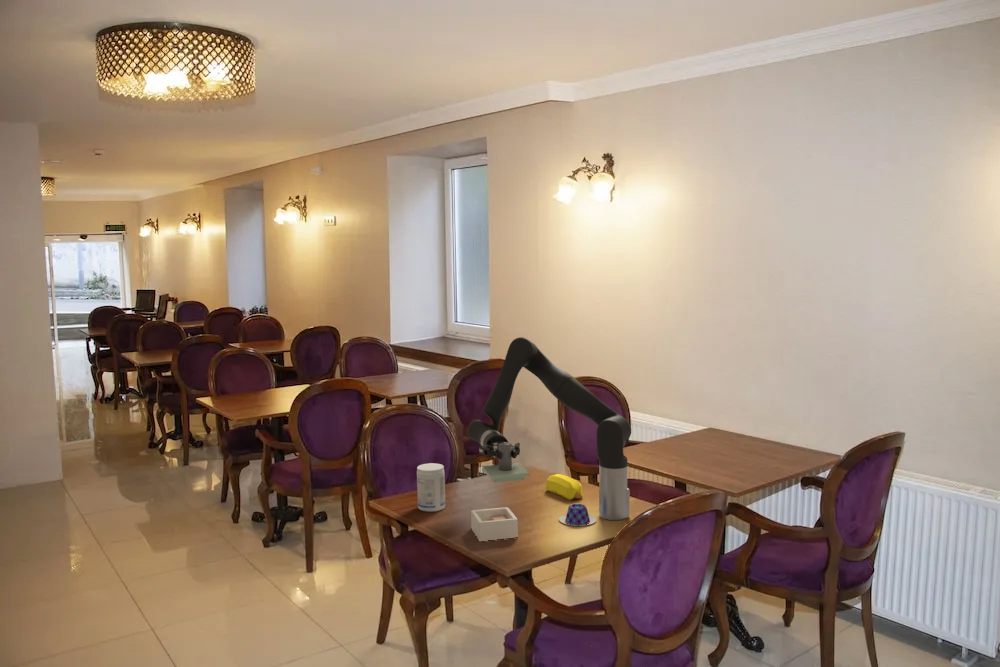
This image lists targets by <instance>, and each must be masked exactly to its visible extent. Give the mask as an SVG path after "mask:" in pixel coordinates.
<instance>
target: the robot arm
mask: <svg viewBox="0 0 1000 667" xmlns="http://www.w3.org/2000/svg"><path fill="white" fill-rule="evenodd" d="M501 367H502V368H501V370H500V373H499V375H498V378H497V379H496V382H495V385H494V387H493V388H492V391H491V393H490V395H489V396H488V399H487V401H486V402H485V405H484V406H483V409H482V412H483V414H484V415H485V416H487V417H488V418H489V419H490V424H489V423H487V422H485V421H483V420H481V419H473V420H472V421H471V422H470V423H469V424H468V426H467V433H466V434H467V435H468V437H469V439H471V440H472V441H474V442H476V443H477V444H479V448H478V449H479V450H478V451H479V452H478V454H479V455H481V456H484V457H487V458H492V457H493V458H496V459H498V461H499V460H500V459H502V458H501V452H500V451H499V445H498V444H499V443H504V442H507V443H509V441H508V439H507V438H506V436H504V435H503V434H501V433H500V432H499V430H500V425H501V421H502V418H503V415H504V413H505V411H506V409H507V407H508V405H509V403H510V401H511V398H512V395H513V391H514V386H515V384H516V383H515V382H516V380H517V377H518V376H519V373H520V372H521V370H522V369H523V368H524V369H525V370H527V371H528V372H530V373H531V374H533V375H534V376H535V377H536V378H538V380H540V382H541V383H542V384H543V385H544V387H545V388H546V389H547V390H548V391H549V393H551V394H552V396H554V398H556V399H557V400H558V401H559V402H560V403H562V404H563V405H564V406H565V407H566V408H568V409H570V410H572V411H574V412H576V413H578V414H579V415H582V416H584V417H587V418H589V420H591V421H593V423H595V424H596V425H597V429H596V436H595V437H596V453H597V454H596V455H597V458H598V463H599V465H598V466H599V467H598V469H599V471H598V476H599V477H598V478H599V479H598V481H599V482H598V483H599V484H598V486H599V487H598V491H599V492H598V495H599V496H598V511H599V512H598V513H599V514H598V515H599V517H600V518H602V519H605V520H609V521H620V520H624V519H625V520H626V518H630V509H631V508H630V506H631V505H630V502H631V501H630V499H631V498H630V497H631V496H630V488H629V487H628V457H627V456H626V455H625V454H624V442H626V441H628V440H629V439H630V437H631V435H632V428H631V424H630V423H629V421H628V420H627V419H626V418H625V417H624V416H622V415H621V413H618V412H616V411H615V410H613V409H612V408H611V407H609V406H608V405H606V404H605V403H604V402H603V401H601V400H600V399H599V398H598V397H597V396H596V395H594V394H593V393H592V392H591V391H590V390H588V389H587V388H586V387H585V386H584V385H583V384H582V383H581V382H580V381H578V380H577V379H576V378H575V377H574V376H572V375H571V374H570V373H568V372H567V371H566V370H564V369H563V368H561V367H560V366H558V365H556V364H555V363H553V362H552V361H551V360H550V359H549V358H548V357H547V355H545V354H544V353H543V352H542V351H541V350H540V349H539V348H538V346H537V345H536V344H535V343H533V342H532V341H531V340H530V339H528V338H526V337H521V336H520V337H517V338H514V339H513V340H512V341H511V342H510V344H509V345H508V349H507V352H506V355H505V358H504V362H503V364H502V366H501ZM511 448H512V458H513V459H516V458H517V457H518V456H519V455H521V443H520V442H516V443H514V444H512V443H511Z"/></svg>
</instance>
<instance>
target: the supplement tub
mask: <svg viewBox="0 0 1000 667" xmlns="http://www.w3.org/2000/svg"><path fill="white" fill-rule="evenodd" d="M445 479H446V478H445V466H444V465H443V464H440V463H433V462H429V463H422V464H419V465H418V466H417V467H416V487H417V488H416V489H417V490H416V494H417V508H418V509H419V510H420V511H421V512H422V511H423V512H429V513H432V512H433V513H434V512H439V511H441V510H444V508H445V507H446V484H445V483H446V481H445Z"/></svg>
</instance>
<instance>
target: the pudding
mask: <svg viewBox="0 0 1000 667" xmlns="http://www.w3.org/2000/svg"><path fill="white" fill-rule="evenodd" d="M565 517H566V519H565ZM563 519H565V520H564V521H566V523H565V522H563ZM558 520H559V522H561V523H562V524H564V525H567V526H575V527H584V526H590V525H592V524H594V523H596V521H597V519H596V518H595V517H594V516H593V515H590V514H589V512H588V509H587V506H586V505H585V504H582V503H573V504H570V505H568V508H567V512H566V514H564V515H561V516H560V517H559V518H558ZM590 520H591V522H590ZM567 522H568V524H567ZM587 523H589V524H587ZM570 524H571V525H570ZM575 524H576V525H575ZM581 524H582V525H581ZM586 524H587V525H586ZM578 525H579V526H578Z"/></svg>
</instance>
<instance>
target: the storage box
mask: <svg viewBox="0 0 1000 667" xmlns="http://www.w3.org/2000/svg"><path fill="white" fill-rule="evenodd" d="M470 513H471V514H470V516H471V519H470V520H471V522H470V523H471V525H470V526H471V528H472V529H471V530H472V532H473V533H475V534H474V536H475V537H476V536H477V537H476V538H477V540H478V541H485V542H489V541H488V540H495V541H498V540H497V539H503V538H504V540H506V539H505V538H513V537H519V536H518V534H519V532H518V531H519V527H518V526H519V524H518V521H519V519H518V518H517V517H516V515H515V514H514V513H513V511H512V510H511V509H510V508H509V507H507V506H505V507H496V508H495V507H492V508H481V509H474V510H471V512H470Z"/></svg>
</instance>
